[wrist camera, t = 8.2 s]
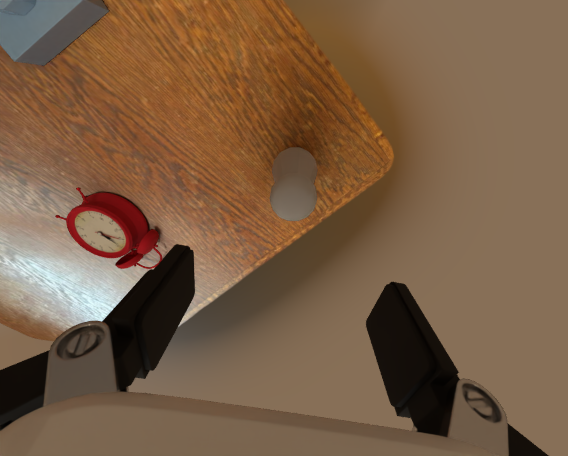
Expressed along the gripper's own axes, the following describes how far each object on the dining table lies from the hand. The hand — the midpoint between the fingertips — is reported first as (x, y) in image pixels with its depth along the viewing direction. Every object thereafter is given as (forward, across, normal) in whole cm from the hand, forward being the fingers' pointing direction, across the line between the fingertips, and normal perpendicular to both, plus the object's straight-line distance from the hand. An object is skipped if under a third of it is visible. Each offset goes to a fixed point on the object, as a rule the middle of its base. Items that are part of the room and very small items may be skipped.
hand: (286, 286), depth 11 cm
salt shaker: (+23, 0, 0) cm, 23 cm away
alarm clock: (+23, +26, +15) cm, 38 cm away
